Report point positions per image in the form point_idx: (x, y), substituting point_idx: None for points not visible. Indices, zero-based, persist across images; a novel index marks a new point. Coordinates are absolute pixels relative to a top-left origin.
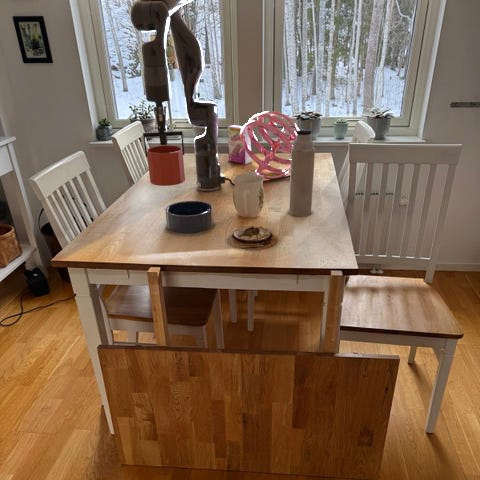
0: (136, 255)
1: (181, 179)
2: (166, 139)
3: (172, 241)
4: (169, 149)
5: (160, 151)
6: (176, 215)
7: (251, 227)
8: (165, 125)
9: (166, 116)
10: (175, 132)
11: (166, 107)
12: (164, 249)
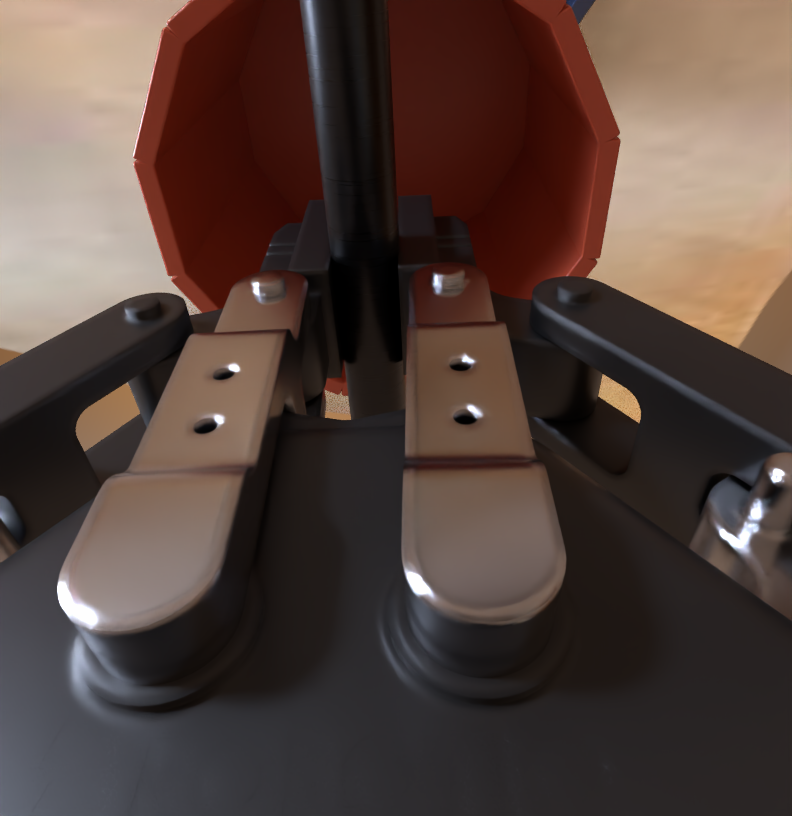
0: (745, 218)
1: None
2: (431, 224)
3: (647, 35)
4: (172, 144)
5: (205, 249)
6: (582, 12)
7: None
8: (715, 342)
9: (525, 421)
10: (378, 71)
11: (198, 603)
12: (739, 80)
